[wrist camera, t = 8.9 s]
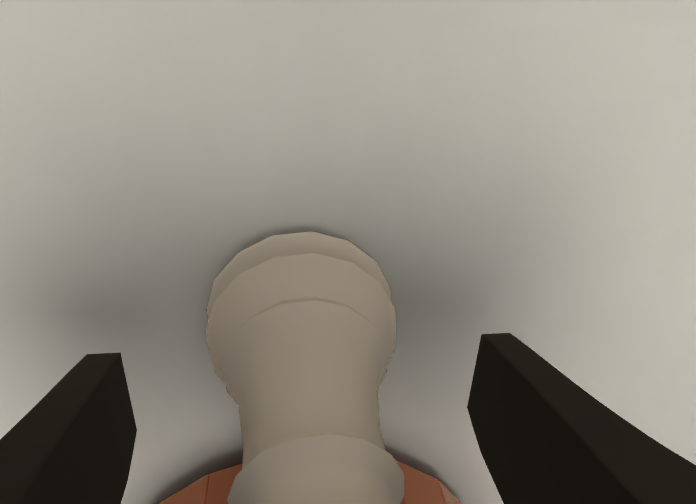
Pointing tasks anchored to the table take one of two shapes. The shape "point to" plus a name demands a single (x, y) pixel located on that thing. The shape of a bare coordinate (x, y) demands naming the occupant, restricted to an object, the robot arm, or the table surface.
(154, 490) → the table surface
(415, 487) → the bowl
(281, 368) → the rook chess piece
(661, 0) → the table surface
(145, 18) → the table surface
